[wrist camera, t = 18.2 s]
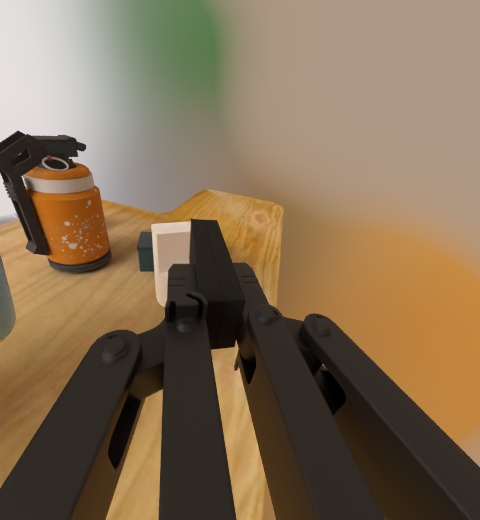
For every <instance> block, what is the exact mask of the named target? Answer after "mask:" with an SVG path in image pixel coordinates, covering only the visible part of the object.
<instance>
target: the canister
mask: <svg viewBox="0 0 480 520" xmlns="http://www.w3.org/2000/svg"><path fill="white" fill-rule="evenodd" d="M85 149H86V145H85V144H82V143H79V142H77V141H76V139H75V138H73V137H69V136H66V135H58V136H30V135H28V134H27V135H25V134H23V133H22V132H20V131H17V132H15V133H14V134H12V135H11V136H9V137H8V138H6V139H5V140H3V141H2V142H0V173H1V176H2V178H3V181H4V182H3V184H4V185H6V186H5V188H7V189H6V191H8V192H7V193H8V194H9V197H10V198H11V200H12V202H13V205H14V207H15V210H16V212H17V215H18V217H19V220H20V222H21V224H22V227H23V229H24V232H25V234H26V237H27V239H28V243H27V245H26V249H28V250H29V251H31V252H32V253H34V254H40V255H47V257H48V260H49V263H50V265H51V267H52V268H54V269H55V270H58V271H61V272H68V273H75V272H84V271H89V270H92V269H95V268H98V267H100V266H102V265H104V264H105V263H106V262H108V261H109V259H110V258H111V250H110V245H109V239H108V234H107V229H106V223H105V218H104V212H103V207H102V202H101V197H100V191H99V188H98V187H96V186H95V185H94V182H93V177H92V173H91V172H90V170H89V169H88V168H87V167H86V166H84V165H82V164H79V163H74V162H73V161H72V159H68V158H69V157H78V153H77V150H79V151H84V150H85ZM20 153H21V154H20ZM19 154H20V155H19ZM17 155H18V156H17ZM68 160H69V161H68ZM21 176H23V178H24V181H25V184H26V187H25V185H24V183H23V180H22V177H21Z"/></svg>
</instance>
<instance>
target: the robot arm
mask: <svg viewBox="0 0 480 520" xmlns="http://www.w3.org/2000/svg"><path fill="white" fill-rule="evenodd" d="M189 263H190V264H172V266H171V267H170V269H169V270H168V287H167V301H166V305H165V318H164V320H163V321H162V322H161V323H160V324H159V325H158V326H157V327H155V328H153V329H151V330H149V331H146V332H143V333H141V334H138V335H137V334H135V333H134V332H132V331H128V330H115V331H112V332H109V333H106V334H105V335H103V336H102V337H100V338H98V339H97V340H96V341H95V343H94V344H93V345H92V346H91V347H90V349H89V350H88V352H87V353H86V355H85V357H84V358H83V360H82V361H81V363H80V364H79V366H78V368H77V369H76V371H75V372H74V374H73V375H72V377H71V379H70V380H69V382H68V383H67V385H66V386H65V388H64V390H63V391H62V393H61V394H60V396H59V397H58V399H57V401H56V402H55V404H54V405H53V407H52V408H51V410H50V412H49V413H48V415H47V416H46V418H45V419H44V421H43V422H42V424H41V426H40V427H39V429H38V430H37V432H36V433H35V435H34V437H33V438H32V440H31V441H30V443H29V444H28V446H27V448H26V449H25V451H24V452H23V454H22V455H21V457H20V459H19V460H18V462H17V463H16V465H15V466H14V468H13V470H12V471H11V473H10V474H9V476H8V477H7V479H6V481H5V482H4V484H3V485H2V487H1V488H0V520H105V519H106V516H107V513H108V510H109V507H110V504H111V501H112V498H113V495H114V492H115V489H116V486H117V483H118V480H119V477H120V474H121V471H122V468H123V465H124V462H125V459H126V456H127V453H128V450H129V446H130V443H131V440H132V437H133V434H134V431H135V428H136V425H137V422H138V419H139V416H140V413H141V410H142V407H143V404H144V401H145V398H146V397H148V396H150V395H152V394H154V393H156V392H158V391H160V390H162V389H163V411H162V440H161V469H160V498H159V520H236V514H235V507H234V501H233V494H232V487H231V481H230V474H229V468H228V461H227V454H226V448H225V441H224V434H223V428H222V421H221V415H220V408H219V401H218V395H217V388H216V382H215V375H214V368H213V362H212V355H211V350H213V349H221V348H230V347H234V346H235V342H236V340H237V344H238V348H239V350H238V354H237V357H236V361H235V365H234V369H235V371H236V370H237V369H238V366H239V368H240V372H241V377H242V381H243V385H244V389H245V393H246V397H247V401H248V405H249V409H250V414H251V418H252V422H253V426H254V430H255V434H256V438H257V442H258V446H259V451H260V455H261V459H262V463H263V467H264V471H265V475H266V479H267V484H268V488H269V491H270V496H271V500H272V504H273V508H274V512H275V516H276V520H385V519H386V520H480V467H479V466H478V465H477V464H476V463H475V462H474V461H473V460H472V459H471V458H470V457H469V456H468V455H467V454H466V453H465V452H464V451H463V450H462V449H461V448H460V447H459V446H458V445H457V444H456V443H455V442H454V441H453V440H452V439H451V438H450V437H449V436H448V435H447V434H446V433H445V432H444V431H443V430H442V429H440V427H439V426H438V425H437V424H436V423H435V422H434V421H433V420H432V419H431V418H430V417H429V416H428V415H427V414H425V412H424V411H423V410H422V409H421V408H420V407H419V406H418V405H417V404H416V403H415V402H414V401H412V399H411V398H410V397H408V395H407V394H405V393H404V392H403V391H402V390H401V389H400V388H399V387H398V386H397V385H396V384H395V383H394V382H393V381H392V380H391V379H390V378H389V377H388V376H387V375H386V374H385V373H384V372H383V371H382V370H381V369H380V368H379V367H378V366H377V365H376V364H375V363H374V362H373V361H372V360H371V359H370V358H369V357H368V356H367V355H366V354H365V353H364V352H363V351H362V350H361V349H360V348H359V347H358V346H357V345H356V344H355V343H354V342H353V341H352V340H351V339H350V338H349V337H348V336H347V335H346V334H345V333H344V332H343V331H342V330H341V329H340V328H339V327H338V326H337V325H336V324H335V323H334V322H333V321H331V320H330V319H329V318H328V317H325V316H323V315H320V314H309V315H308V316H306V318H305V320H304V321H299V320H295V319H290V318H286V317H283V316H282V314H281V313H280V312H279V310H278V309H276V308H275V307H273V306H271V305H269V303H268V301H267V299H266V297H265V295H264V293H263V290H262V288H261V286H260V284H259V283H258V280H257V278H256V275H255V273H254V271H253V269H252V268H251V267H250V266H249V265H248V264H246V263H232V260H231V258H230V255H229V252H228V249H227V247H226V244H225V241H224V238H223V235H222V233H221V230H220V227H219V224H218V222H217V220H198V219H191V230H190V251H189ZM15 320H16V314H15V309H14V305H13V301H12V297H11V293H10V289H9V285H8V281H7V278H6V274H5V270H4V266H3V263H2V259H1V255H0V342H1V341H2V340H4V339H5V338H6V337H7V336H8V335H9V333H10V332H11V331H12V329H13V327H14V325H15ZM322 364H324V366H325V367H326V368H325V367H324V366H323V365H322Z"/></svg>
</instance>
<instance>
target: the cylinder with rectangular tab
mask: <svg viewBox="0 0 480 520" xmlns="http://www.w3.org/2000/svg"><path fill="white" fill-rule="evenodd" d="M151 227H152V242H153V257H154V273H155V288H156V299H157V301H158V302H159V304H160V305H161V306H163V307H164V308H165V305H166V301H167V287H168V270H169V269H170V267H171V266H172V264H190V263H189V251H190V230H191V222H176V223H161V224H152V225H151Z"/></svg>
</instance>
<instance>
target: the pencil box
mask: <svg viewBox="0 0 480 520" xmlns="http://www.w3.org/2000/svg"><path fill="white" fill-rule="evenodd" d="M137 250H138V254H139V263H140V271H154V257H153V242H152V232H141V234H140V238H139V242H138V246H137Z"/></svg>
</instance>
